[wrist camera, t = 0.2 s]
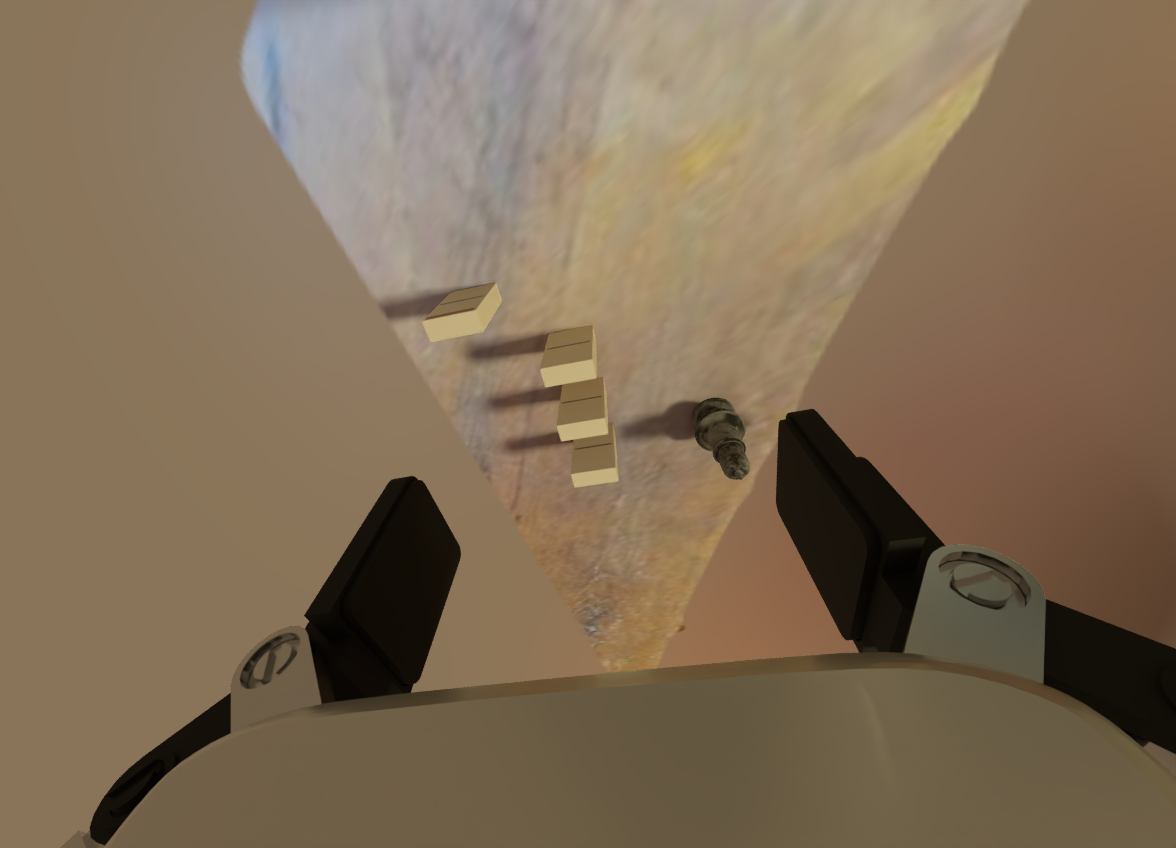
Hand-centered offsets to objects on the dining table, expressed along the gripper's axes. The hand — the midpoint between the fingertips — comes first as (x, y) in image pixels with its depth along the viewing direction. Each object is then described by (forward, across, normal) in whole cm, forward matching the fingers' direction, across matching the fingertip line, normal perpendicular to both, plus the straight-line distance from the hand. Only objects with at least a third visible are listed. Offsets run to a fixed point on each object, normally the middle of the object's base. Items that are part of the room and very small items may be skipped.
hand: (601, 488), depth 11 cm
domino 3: (+36, +5, +15) cm, 40 cm away
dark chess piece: (+36, -10, +23) cm, 44 cm away
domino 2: (+36, +5, +9) cm, 38 cm away
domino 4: (+36, +5, +22) cm, 43 cm away
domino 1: (+36, +14, +2) cm, 39 cm away
